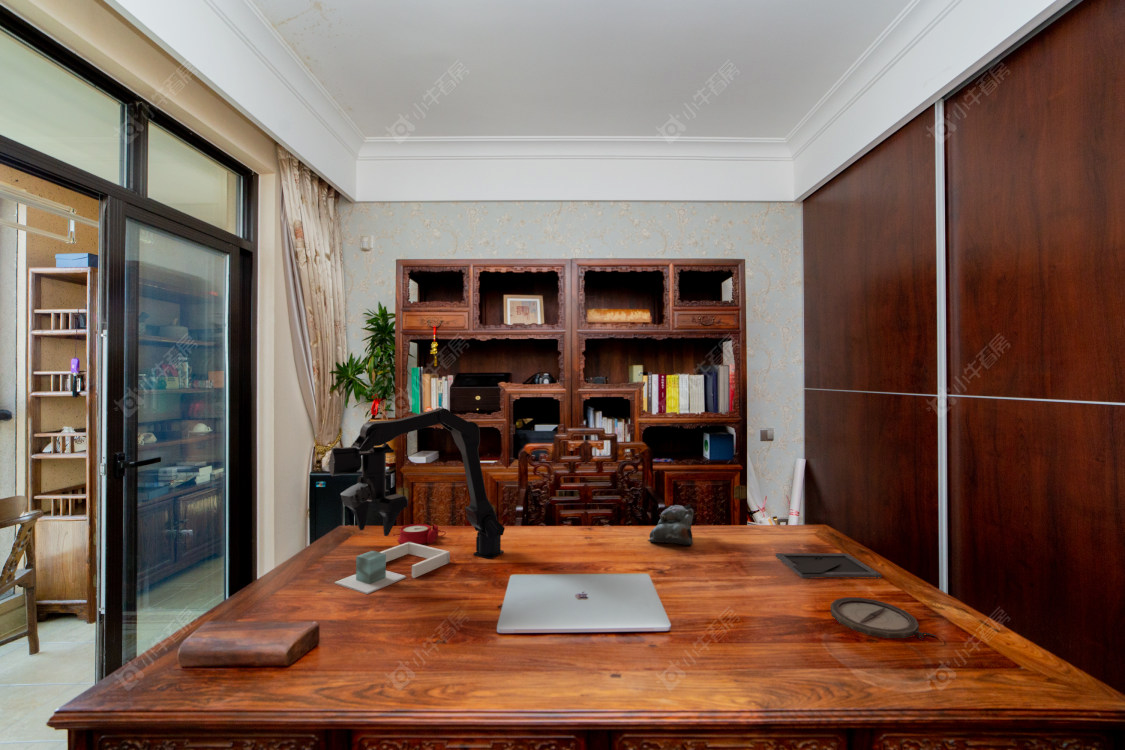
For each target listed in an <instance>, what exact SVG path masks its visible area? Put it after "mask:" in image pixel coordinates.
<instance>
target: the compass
mask: <svg viewBox="0 0 1125 750" xmlns="http://www.w3.org/2000/svg"><path fill="white" fill-rule="evenodd" d="M830 614H832V615H831V617H832V616H833V617H834V618H835V619H836V620H837V621H838V622H839V623H838V622H837V621H836V620H835V619H834V618H833V617H832V618H833V619H834V620H835V621H836V622H837V623H838V624H840V623H841V624H840V625H842V624H843V625H845V626H847V627H849V628H851V629H853V630H852V631H854V630H856V631H855V632H857V631H859V632H858V633H860V632H862V633H861V634H863V633H865V634H864V635H866V634H868V635H867V636H869V635H872V636H871V637H874V636H878V637H877V638H880V637H884V638H883V639H885V638H906V637H910V636H913V635H916V636H917V638H918V637H919V638H920V639H921V637H922V638H924V637H925V636H923V635H924V634H926V635H933V636H937V637H939V636H938V635H936V634H933V633H929V632H921V631H918V630H920V629H919V628H920V627H919V622H918V621H917V619H916V617H914V616H913V615H912V614H910V613H909V612H908V611H906V610H905V609H902V608H900V607H897V606H895V605H893V604H891V603H887V602H884V601H880V600H877V599H869V598H864V597H849V596H848V597H842V598H838V599H835V600H834V601H832V602H831V603H830ZM843 625H842V626H843ZM845 626H844V627H845ZM847 627H846V628H847ZM849 628H848V629H849ZM851 629H850V630H851ZM917 634H918V635H917ZM920 636H921V637H920ZM924 639H925V638H924Z"/></svg>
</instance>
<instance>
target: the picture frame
mask: <svg viewBox="0 0 1125 750" xmlns="http://www.w3.org/2000/svg"><path fill="white" fill-rule="evenodd" d="M776 557H777V558H776ZM775 558H776V559H777V560H779V559H780V560H781V561H782V562H781V561H780V560H779V561H780V562H781V563H782V564H784V563H785V564H786V565H787V566H788V567H787V566H786V565H785V564H784V565H785V566H786V567H787V568H789V567H790V568H791V569H792V570H793V571H792V570H791V569H790V568H789V569H790V570H791V571H792V572H794V573H795V574H796V573H797V574H798V575H799V576H798V575H797V574H796V575H797V576H798V577H800V578H801V577H802V578H801V579H815V578H814V577H869V578H868V579H871V578H870V577H876V578H875V579H882V578H881V577H882V573H880V572H879V571H877V570H875V569H874V568H872V567H871V566H869V565H867V564H865V563H863V562H862V561H860V560H859V559H857V558H856V557H853V556H852V555H850V554H849V553H846V552H845V553H837V552H835V553H832V552H831V553H827V552H825V553H823V552H820V553H816V552H814V553H813V552H810V553H807V552H805V553H804V552H803V553H802V552H801V553H800V552H798V553H797V552H795V553H794V552H793V553H792V552H791V553H789V552H779V553H778V552H775ZM811 577H813V578H811ZM878 577H880V578H878Z"/></svg>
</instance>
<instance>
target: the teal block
mask: <svg viewBox="0 0 1125 750" xmlns="http://www.w3.org/2000/svg"><path fill="white" fill-rule="evenodd" d="M380 552H381V551H376V550H370V551H367V552H365V553H361V554H358V555H356V557H355V560H356V561H355V565H356V566H355V571H356V572H355V574H356V580H357V581H360V582H363V583H367V584H372V583H374V582H377V581H379V580H381V579H384V578H386V570H387V569H386V568H387V567H386V566H387V562H386V554H384V553H380Z"/></svg>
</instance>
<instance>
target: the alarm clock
mask: <svg viewBox="0 0 1125 750" xmlns="http://www.w3.org/2000/svg"><path fill="white" fill-rule="evenodd" d="M398 529H399V532H400V533H396V534H394V533H393V534H392V535H393V537H394V536H398V539H397V542H398V544H399V543H400V545H401V544H404V543H407V542H411V543H415V544H420V545H424V544H426V543H427V544H428V545H432V544H434V543H435V542H436V540H437V538H438V537H444V536H445V535H446V534H447V532H446V531H444V530H441V529H439V527H438V525H437V524H432V527H431V526H430V525H429V524H426V523H412V524H405V525H404V526H401V527H398ZM439 532H440V533H441V532H442V533H444V534H441V535H439Z"/></svg>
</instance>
